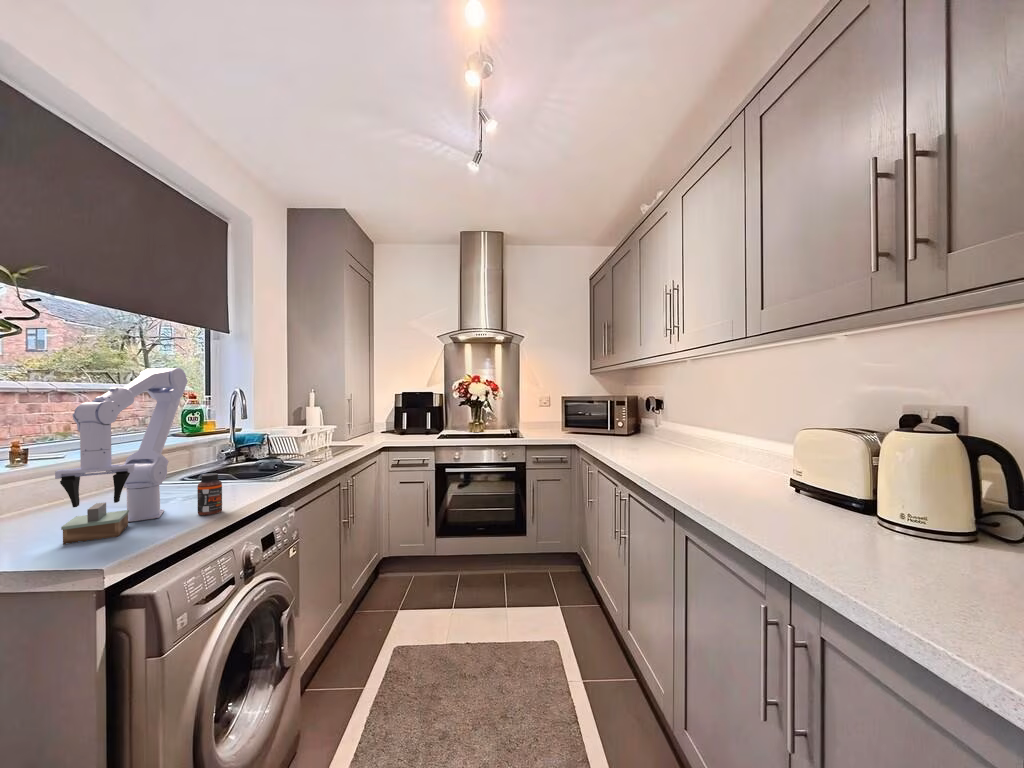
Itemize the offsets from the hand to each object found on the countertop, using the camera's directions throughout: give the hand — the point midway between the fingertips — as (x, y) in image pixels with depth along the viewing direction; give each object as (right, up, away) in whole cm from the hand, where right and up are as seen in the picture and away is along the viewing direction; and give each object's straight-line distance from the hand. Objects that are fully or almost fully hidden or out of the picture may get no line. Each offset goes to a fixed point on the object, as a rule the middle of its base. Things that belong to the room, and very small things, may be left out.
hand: (96, 504), depth 112 cm
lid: (0, -5, 0) cm, 5 cm away
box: (0, -8, 0) cm, 8 cm away
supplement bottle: (+16, -8, +18) cm, 25 cm away
